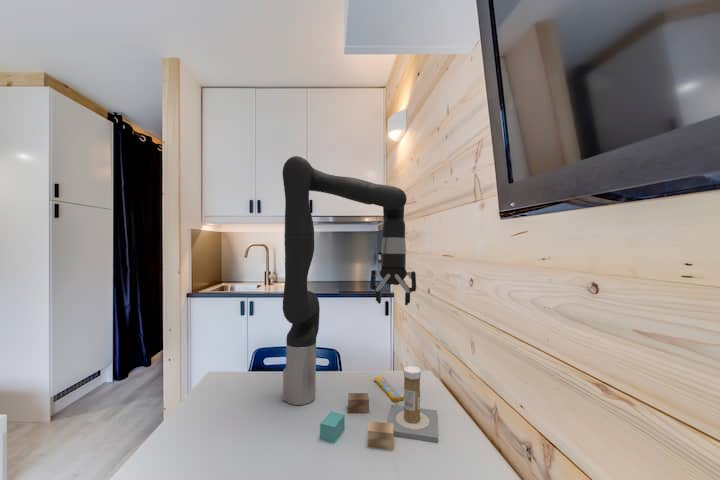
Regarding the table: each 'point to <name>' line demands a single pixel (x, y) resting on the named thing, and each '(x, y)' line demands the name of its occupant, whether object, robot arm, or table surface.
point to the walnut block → (358, 403)
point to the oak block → (381, 435)
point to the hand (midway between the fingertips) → (392, 303)
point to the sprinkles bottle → (412, 394)
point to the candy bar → (388, 389)
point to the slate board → (414, 424)
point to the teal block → (332, 427)
